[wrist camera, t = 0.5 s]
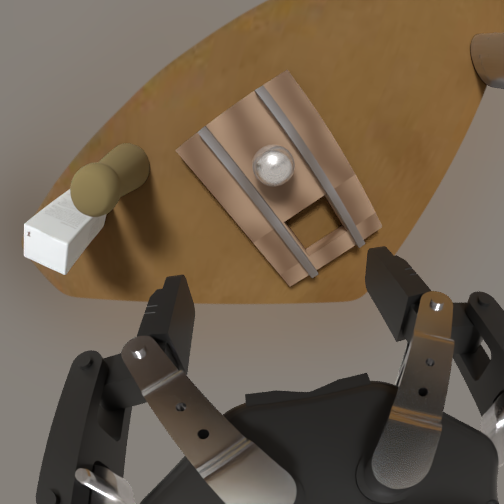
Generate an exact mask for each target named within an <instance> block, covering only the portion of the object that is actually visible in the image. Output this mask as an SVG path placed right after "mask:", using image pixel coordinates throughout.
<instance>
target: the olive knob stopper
mask: <svg viewBox="0 0 504 504" xmlns="http://www.w3.org/2000/svg"><path fill="white" fill-rule="evenodd" d="M149 171H150V163H149V160H148V157H147V155H146V154H145V152H144V151H143V150H142V149H141V148H140V147H138V146H137V145H134V144H131V143H125V144H121V145H118V146H116V147H115V148H114V149H113V150H111V151H110V152H109V153H108V154H107V155H106V156H105V157H104V158H102V159H101V160H100V161H99V162H98V163H90V164H88V165H85V166H83V167H82V168H81V169H80V170H79V171H77V172H76V174H75V175H74V177H73V179H72V181H71V187H70V194H71V199H72V202H73V204H74V206H75V207H76V208H77V210H78V211H80V212H81V213H82V214H84V215H87V216H90V217H100V216H103V215H105V214H107V213H109V212H110V211H111V210H112V209H113V208H114V207H115V206H116V204H117V203H118V201H119V198H120V197H122V196H124V195H125V194H127V193H129V192H131V191H133V190H135V189H137V188H138V187H140V186H141V185H142V184H144V182H145V181H146V179H147V178H148V174H149Z"/></svg>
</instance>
